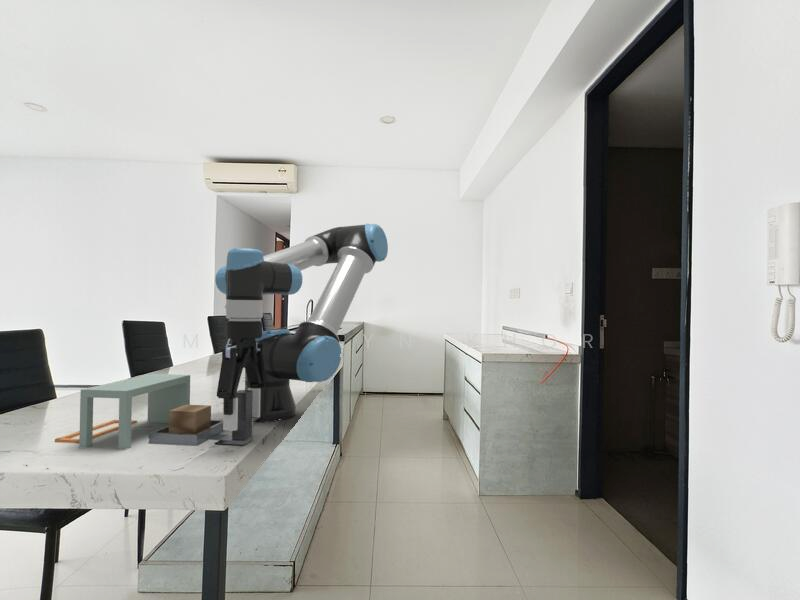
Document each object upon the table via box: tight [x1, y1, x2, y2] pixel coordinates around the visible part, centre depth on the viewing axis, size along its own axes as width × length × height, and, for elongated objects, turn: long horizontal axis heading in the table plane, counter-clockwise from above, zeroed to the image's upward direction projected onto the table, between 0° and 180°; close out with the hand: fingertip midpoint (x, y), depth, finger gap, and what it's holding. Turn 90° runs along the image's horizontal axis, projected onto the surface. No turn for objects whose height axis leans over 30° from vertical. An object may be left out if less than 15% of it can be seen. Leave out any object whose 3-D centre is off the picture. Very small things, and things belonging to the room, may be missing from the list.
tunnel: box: [78, 373, 191, 451], centre depth 96 cm, size 10×21×12 cm, turn 173°
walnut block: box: [168, 404, 212, 434], centre depth 94 cm, size 6×6×6 cm
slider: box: [148, 389, 254, 446], centre depth 94 cm, size 19×12×11 cm, turn 83°
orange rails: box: [54, 419, 138, 444], centre depth 97 cm, size 6×16×2 cm, turn 173°
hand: (242, 423), depth 93 cm, fingers open, 10 cm apart
